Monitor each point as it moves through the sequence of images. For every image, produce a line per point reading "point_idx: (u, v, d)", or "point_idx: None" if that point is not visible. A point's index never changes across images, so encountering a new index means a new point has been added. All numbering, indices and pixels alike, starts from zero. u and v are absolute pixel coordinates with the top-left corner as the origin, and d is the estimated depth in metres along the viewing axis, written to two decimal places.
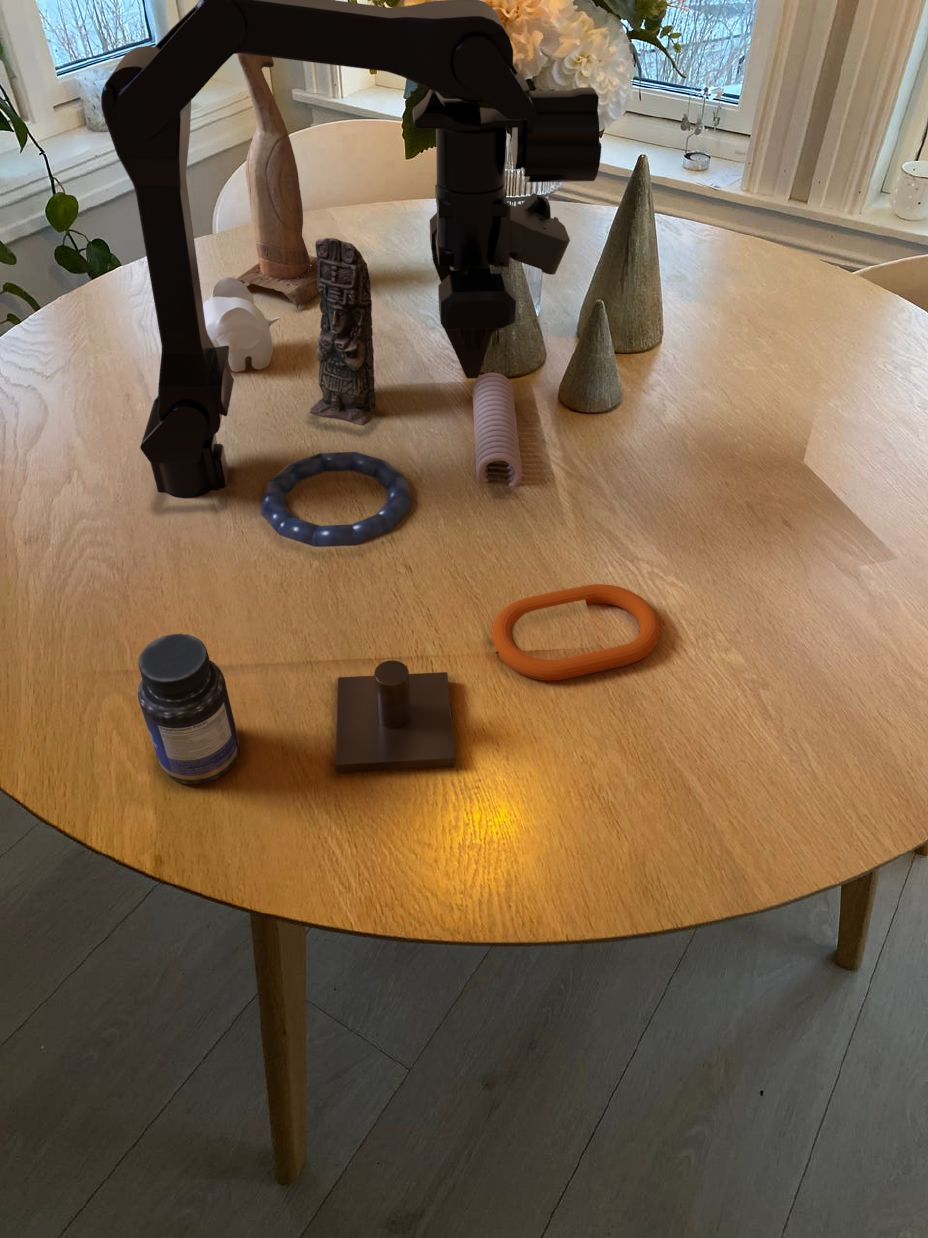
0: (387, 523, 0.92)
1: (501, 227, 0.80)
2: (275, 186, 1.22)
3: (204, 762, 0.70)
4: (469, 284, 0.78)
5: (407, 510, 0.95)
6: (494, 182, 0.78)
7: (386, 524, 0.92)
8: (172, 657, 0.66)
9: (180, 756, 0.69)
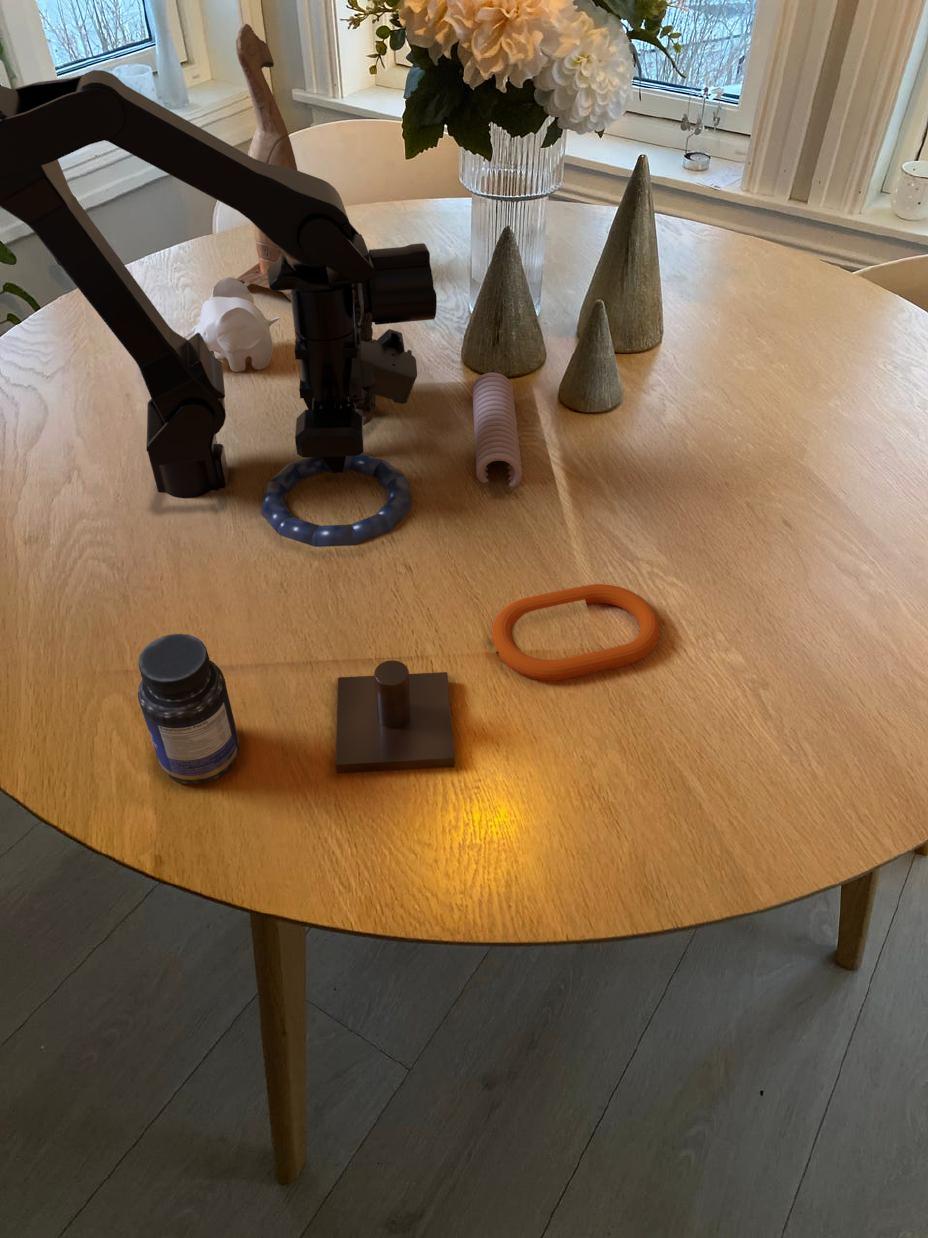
0: (387, 523, 0.92)
1: (352, 367, 0.90)
2: None
3: (204, 762, 0.70)
4: (321, 420, 0.88)
5: (407, 510, 0.95)
6: (346, 329, 0.88)
7: (386, 524, 0.92)
8: (172, 657, 0.66)
9: (180, 756, 0.69)
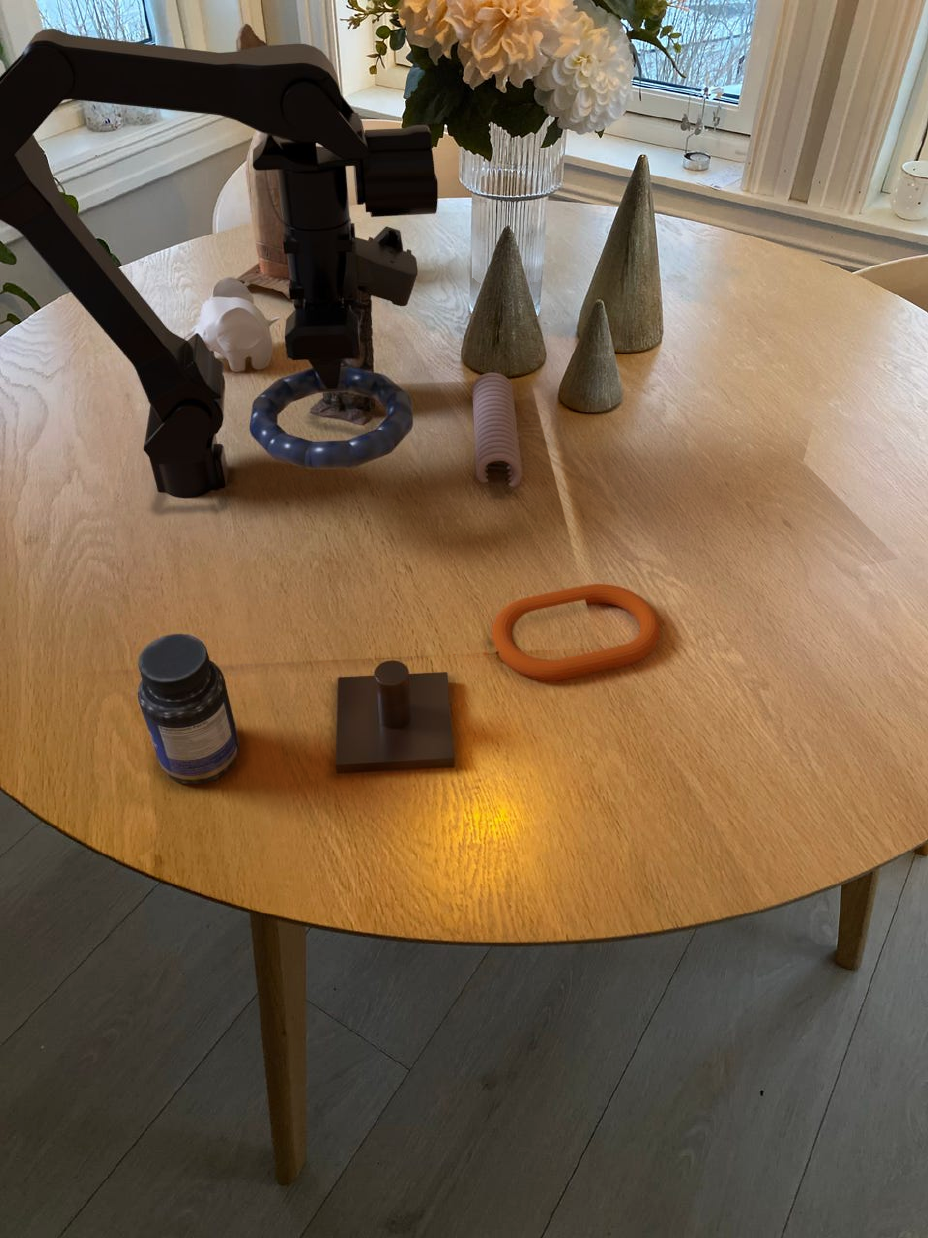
0: (387, 439, 0.85)
1: (347, 262, 0.82)
2: (275, 186, 1.22)
3: (204, 762, 0.70)
4: (313, 318, 0.81)
5: (408, 426, 0.87)
6: (337, 218, 0.80)
7: (386, 440, 0.84)
8: (172, 657, 0.66)
9: (180, 756, 0.69)
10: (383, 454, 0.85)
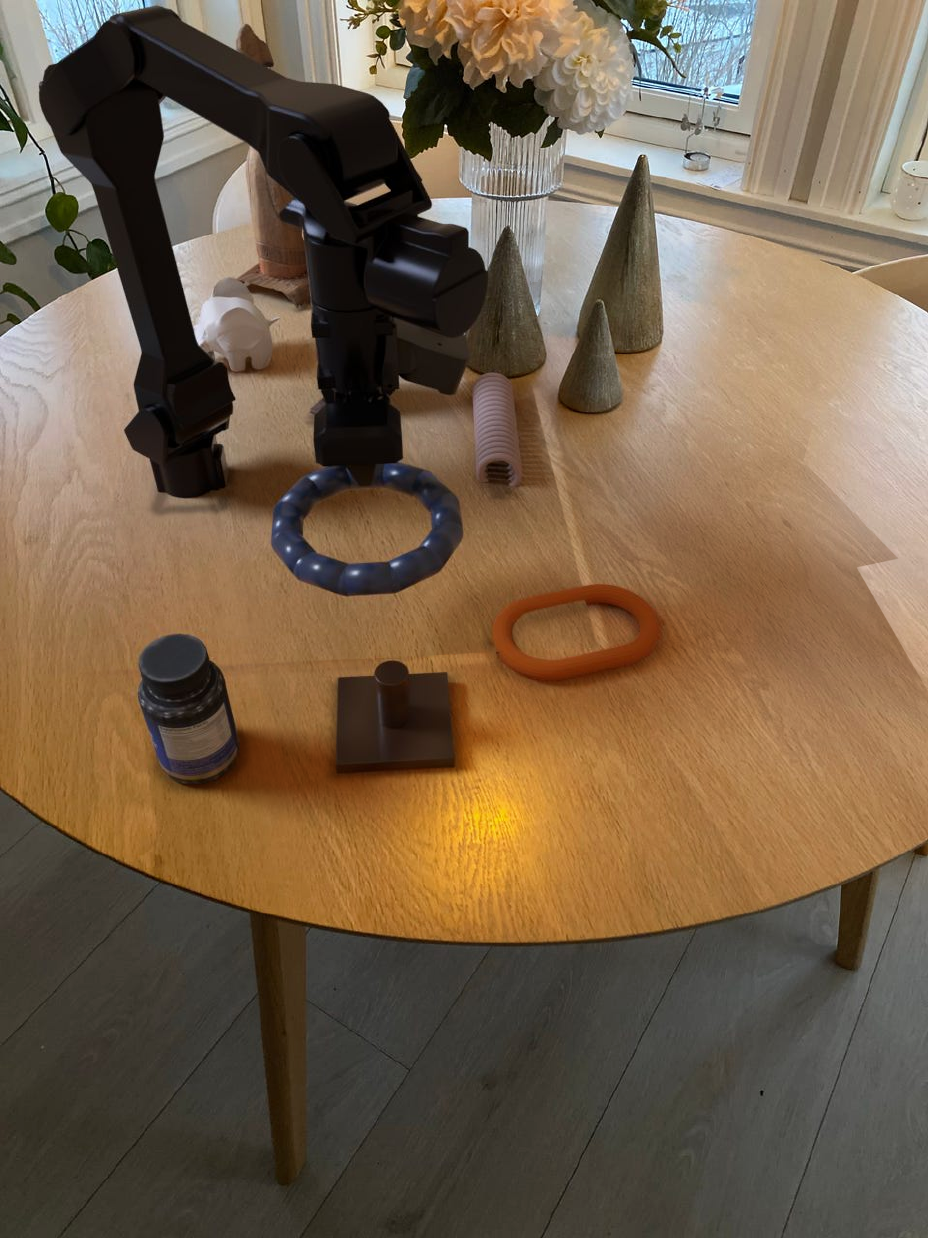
0: (435, 559, 0.71)
1: (387, 347, 0.69)
2: (275, 186, 1.22)
3: (204, 762, 0.70)
4: (347, 417, 0.67)
5: (459, 539, 0.73)
6: (346, 303, 0.66)
7: (434, 560, 0.71)
8: (172, 657, 0.66)
9: (180, 756, 0.69)
10: (430, 576, 0.72)
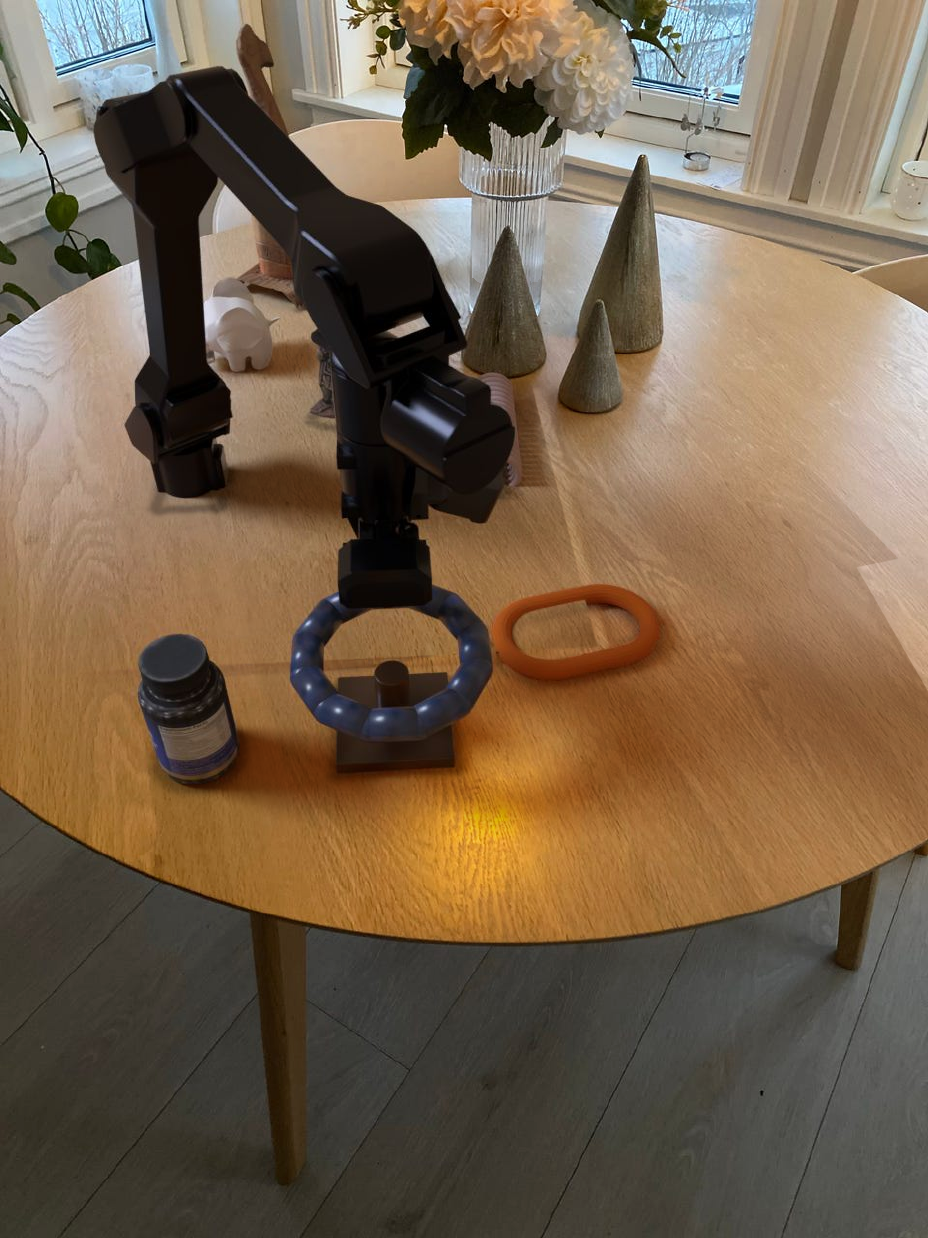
0: (464, 704, 0.67)
1: (416, 478, 0.65)
2: None
3: (204, 762, 0.70)
4: (374, 557, 0.63)
5: (488, 677, 0.70)
6: (367, 436, 0.62)
7: (463, 705, 0.67)
8: (172, 657, 0.66)
9: (180, 756, 0.69)
10: None
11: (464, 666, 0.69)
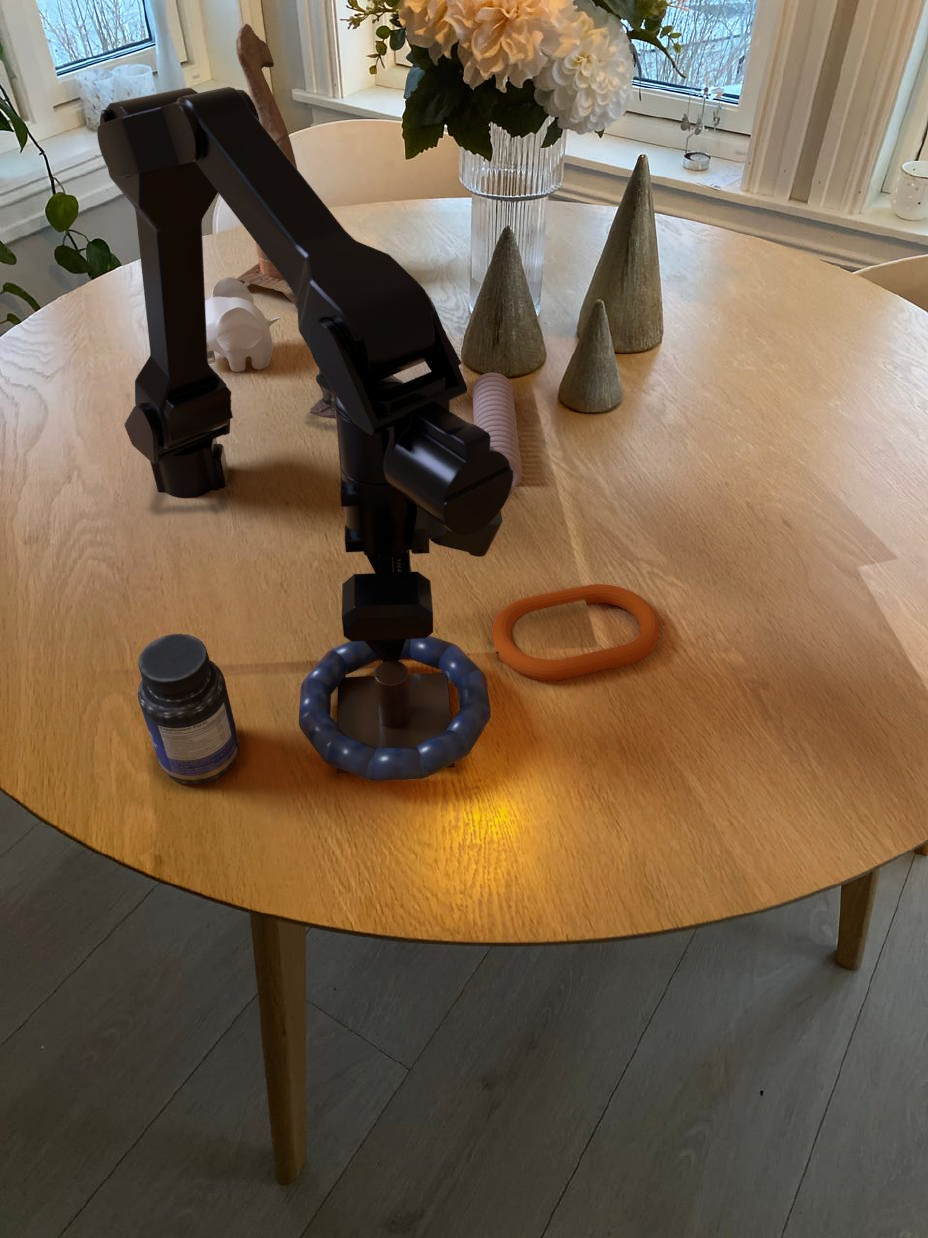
0: (463, 744, 0.71)
1: (418, 515, 0.67)
2: None
3: (204, 762, 0.70)
4: (377, 592, 0.65)
5: (486, 720, 0.73)
6: (370, 476, 0.64)
7: (463, 745, 0.71)
8: (172, 657, 0.66)
9: (180, 756, 0.69)
10: (458, 760, 0.72)
11: (463, 710, 0.73)
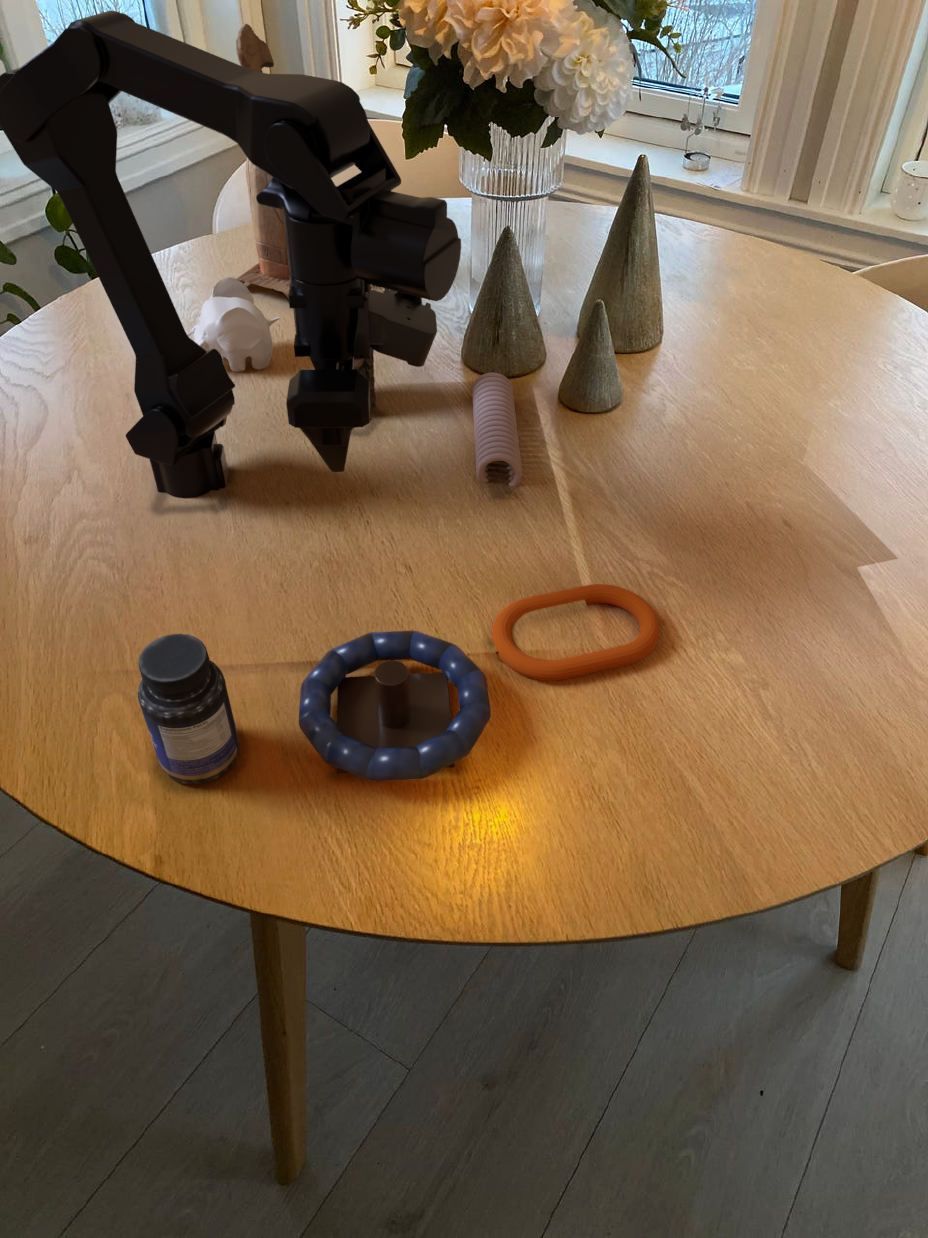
0: (463, 744, 0.71)
1: (359, 319, 0.74)
2: None
3: (204, 762, 0.70)
4: (319, 382, 0.72)
5: (486, 720, 0.73)
6: (329, 276, 0.72)
7: (463, 745, 0.71)
8: (172, 657, 0.66)
9: (180, 756, 0.69)
10: (458, 760, 0.72)
11: (463, 710, 0.73)
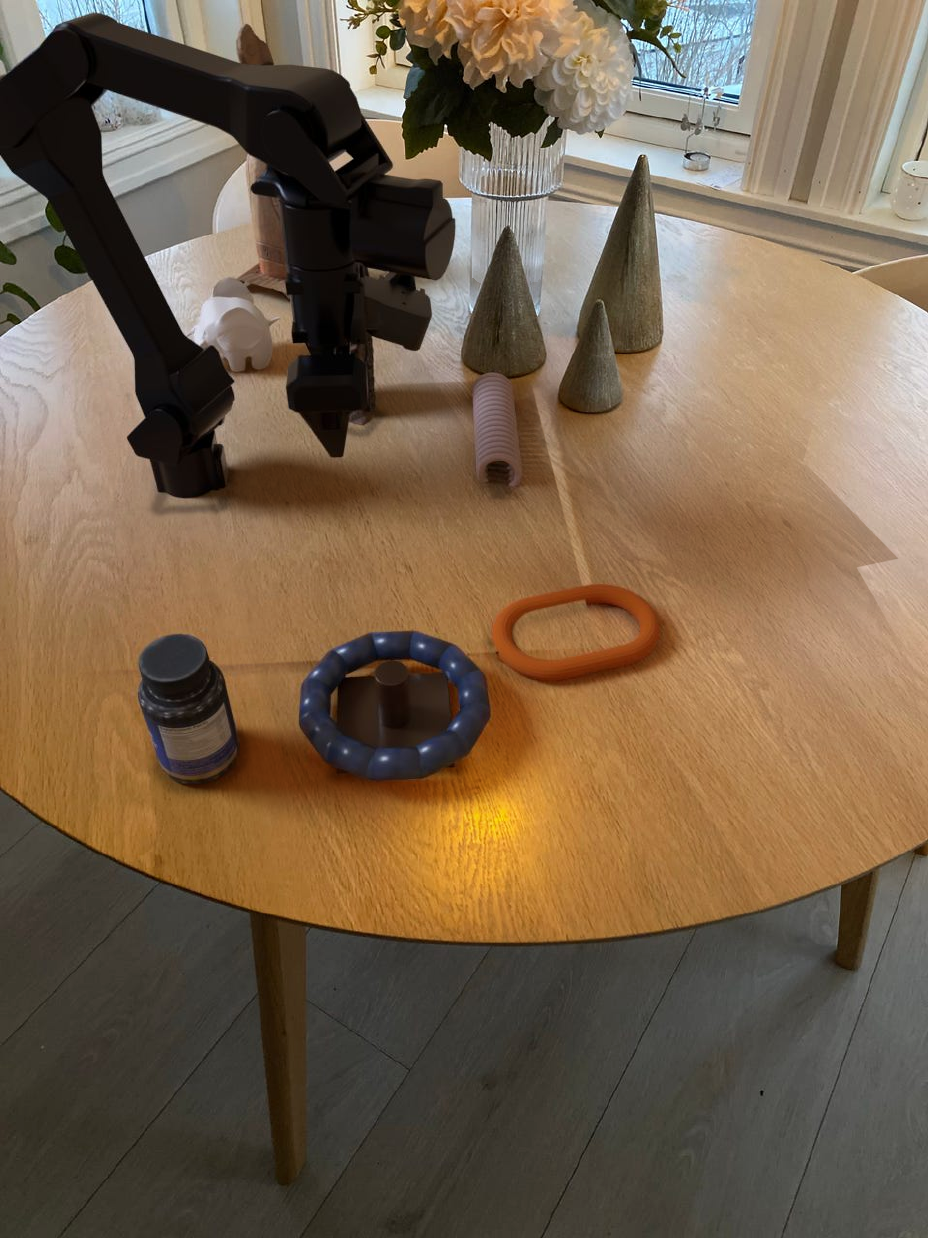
0: (463, 744, 0.71)
1: (355, 304, 0.75)
2: None
3: (204, 762, 0.70)
4: (317, 367, 0.74)
5: (486, 720, 0.73)
6: (327, 262, 0.73)
7: (463, 745, 0.71)
8: (172, 657, 0.66)
9: (180, 756, 0.69)
10: (458, 760, 0.72)
11: (463, 710, 0.73)
